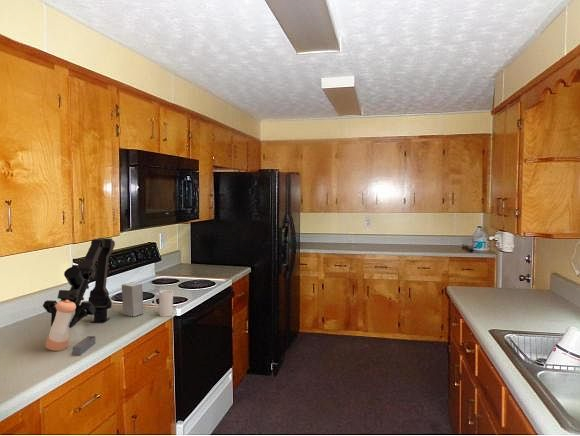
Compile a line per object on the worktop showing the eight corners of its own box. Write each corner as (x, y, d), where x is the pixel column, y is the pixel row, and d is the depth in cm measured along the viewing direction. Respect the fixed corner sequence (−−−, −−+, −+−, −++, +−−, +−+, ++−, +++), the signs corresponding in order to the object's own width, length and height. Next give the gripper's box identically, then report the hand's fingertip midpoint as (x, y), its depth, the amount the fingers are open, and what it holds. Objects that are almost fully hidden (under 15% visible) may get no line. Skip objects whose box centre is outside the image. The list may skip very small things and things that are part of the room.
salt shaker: (46, 350, 153) (57, 303, 151) (44, 341, 159) (56, 295, 157) (67, 350, 157) (79, 304, 155) (65, 341, 163) (76, 296, 161)
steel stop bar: (87, 343, 164) (88, 336, 164) (95, 343, 164) (95, 336, 164) (72, 355, 152) (72, 347, 152) (80, 355, 152) (80, 347, 152)
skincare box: (143, 314, 205) (144, 283, 204) (131, 317, 199) (132, 285, 198) (132, 311, 209) (133, 281, 208) (120, 314, 203) (121, 283, 202)
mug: (175, 313, 207) (175, 290, 207) (168, 317, 201) (169, 293, 200) (157, 312, 210) (157, 289, 209) (150, 315, 203) (150, 292, 202)
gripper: (46, 280, 160) (27, 315, 150) (93, 282, 160) (77, 318, 150) (57, 295, 169) (40, 329, 158) (101, 297, 169) (87, 332, 158)
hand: (60, 327), depth 156 cm, fingers closed on salt shaker, 7 cm apart
